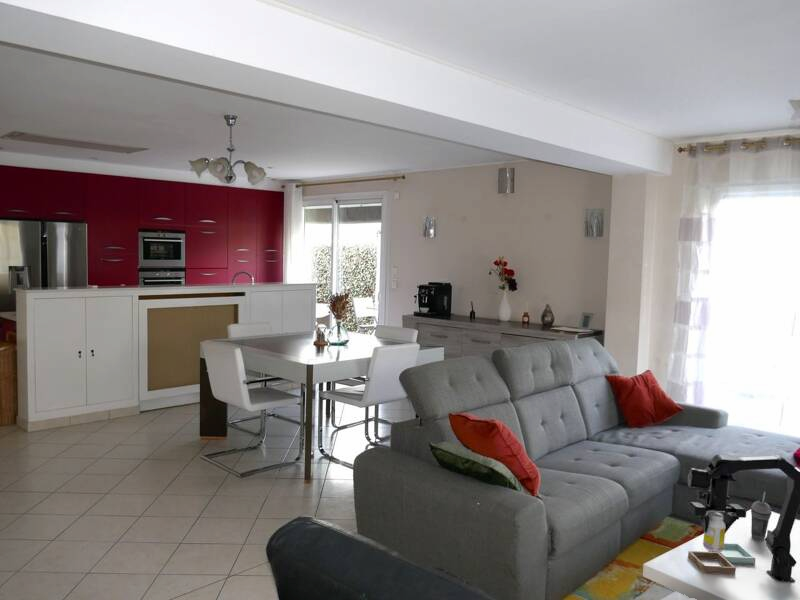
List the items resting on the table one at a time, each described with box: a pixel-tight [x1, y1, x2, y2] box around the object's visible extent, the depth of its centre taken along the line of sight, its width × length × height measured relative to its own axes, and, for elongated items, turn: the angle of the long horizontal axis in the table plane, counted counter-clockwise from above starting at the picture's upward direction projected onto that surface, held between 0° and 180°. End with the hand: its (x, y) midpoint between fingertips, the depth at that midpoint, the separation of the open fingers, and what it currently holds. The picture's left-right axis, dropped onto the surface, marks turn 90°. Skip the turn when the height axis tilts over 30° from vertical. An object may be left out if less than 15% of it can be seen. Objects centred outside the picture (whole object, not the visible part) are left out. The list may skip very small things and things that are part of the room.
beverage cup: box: [750, 491, 772, 542], centre depth 255 cm, size 7×7×20 cm
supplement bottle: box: [702, 512, 726, 552], centre depth 230 cm, size 7×7×13 cm
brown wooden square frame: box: [687, 550, 737, 576], centre depth 231 cm, size 11×11×2 cm
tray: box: [719, 542, 756, 566], centre depth 239 cm, size 11×11×2 cm
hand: (714, 532), depth 230 cm, fingers closed on supplement bottle, 7 cm apart
